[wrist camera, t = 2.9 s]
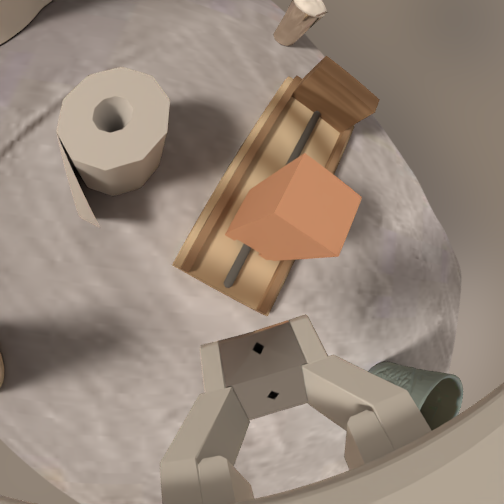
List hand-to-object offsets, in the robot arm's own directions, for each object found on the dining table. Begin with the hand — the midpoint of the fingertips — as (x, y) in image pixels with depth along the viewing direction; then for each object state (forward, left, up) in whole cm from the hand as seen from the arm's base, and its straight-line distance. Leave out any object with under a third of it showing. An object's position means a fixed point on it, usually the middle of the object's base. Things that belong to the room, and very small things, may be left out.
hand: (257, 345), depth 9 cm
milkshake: (-27, +25, -23) cm, 43 cm away
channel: (-7, +15, -23) cm, 28 cm away
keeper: (-3, +10, -22) cm, 24 cm away
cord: (-6, +14, -22) cm, 27 cm away
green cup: (+24, +20, -23) cm, 39 cm away
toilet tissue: (-14, -2, -23) cm, 27 cm away
